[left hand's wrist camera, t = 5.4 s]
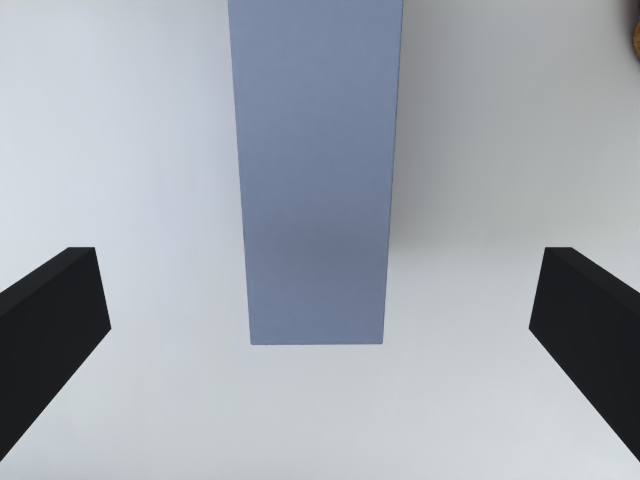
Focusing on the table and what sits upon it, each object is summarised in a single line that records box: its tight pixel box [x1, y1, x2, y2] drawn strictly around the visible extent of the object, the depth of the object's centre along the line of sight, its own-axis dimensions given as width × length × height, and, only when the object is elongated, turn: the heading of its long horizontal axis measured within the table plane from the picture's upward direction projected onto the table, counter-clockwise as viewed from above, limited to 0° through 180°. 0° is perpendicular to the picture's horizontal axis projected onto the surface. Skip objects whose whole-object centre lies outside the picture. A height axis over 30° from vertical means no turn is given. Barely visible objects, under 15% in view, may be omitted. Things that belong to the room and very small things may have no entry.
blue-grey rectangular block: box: [228, 0, 403, 345], centre depth 19 cm, size 16×5×10 cm, turn 0°
